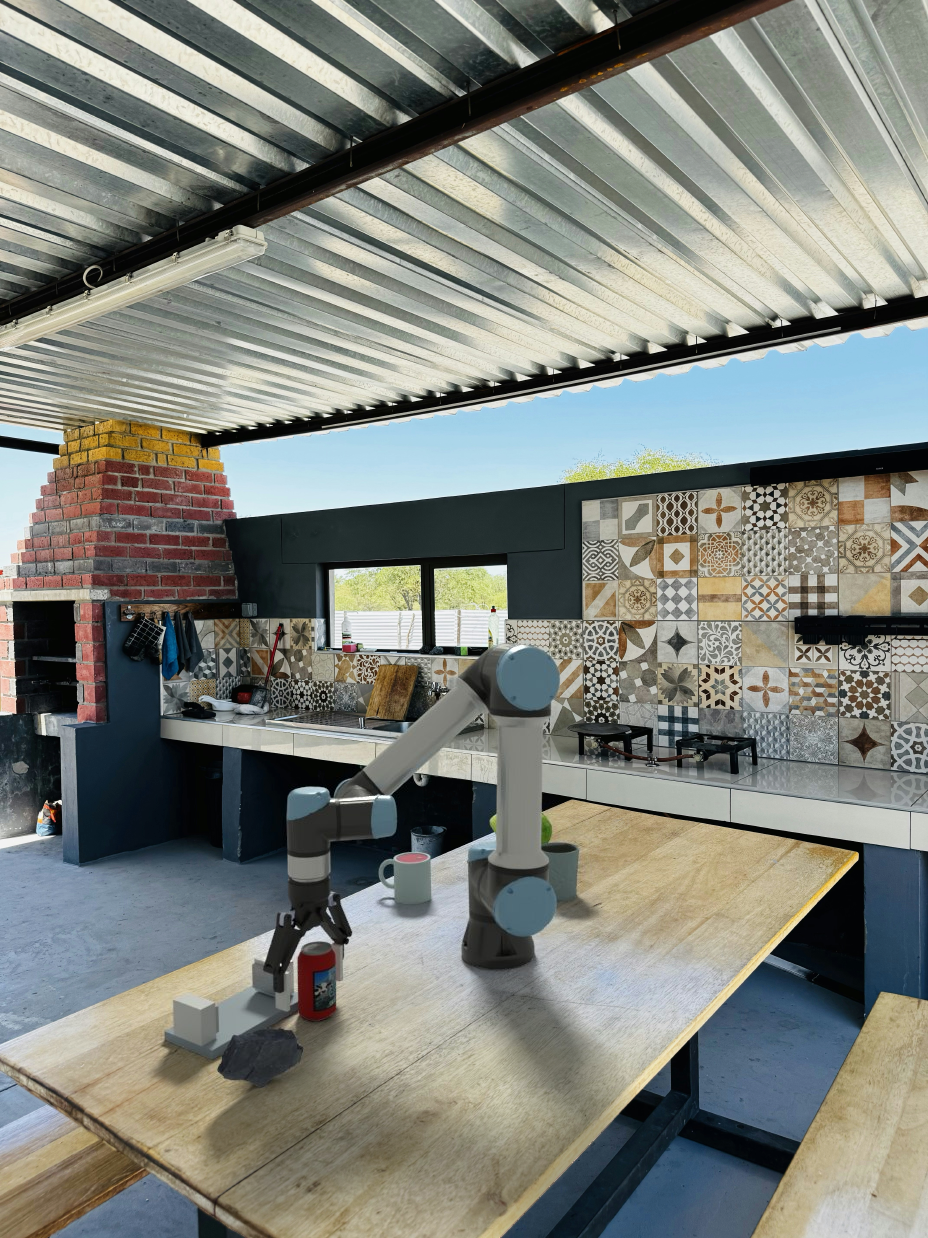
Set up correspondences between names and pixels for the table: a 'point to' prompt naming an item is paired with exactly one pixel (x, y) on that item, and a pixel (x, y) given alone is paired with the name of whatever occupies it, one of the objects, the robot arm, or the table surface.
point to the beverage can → (316, 981)
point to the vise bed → (222, 1019)
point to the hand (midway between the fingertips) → (310, 994)
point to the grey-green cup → (562, 869)
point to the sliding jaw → (267, 977)
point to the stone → (260, 1055)
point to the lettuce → (545, 828)
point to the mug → (409, 877)
